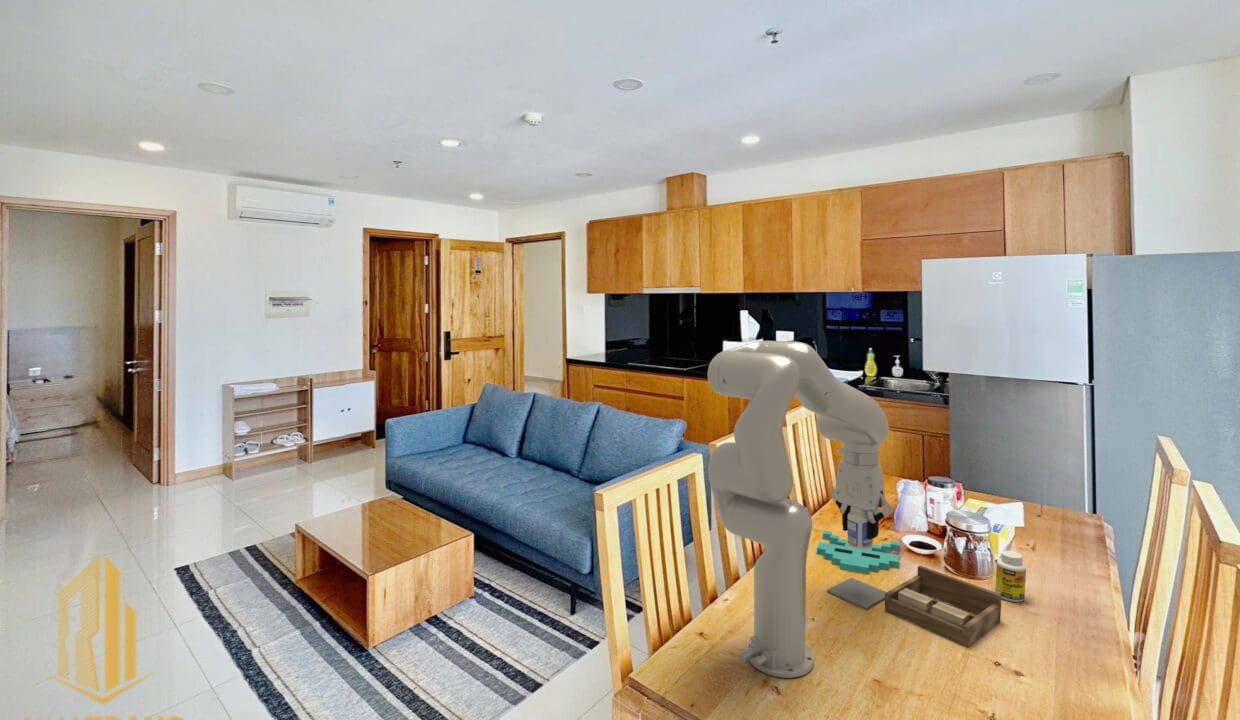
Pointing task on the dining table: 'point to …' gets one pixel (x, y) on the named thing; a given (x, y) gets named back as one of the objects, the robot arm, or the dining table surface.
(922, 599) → the offcut
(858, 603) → the rubber coaster
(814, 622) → the dining table surface
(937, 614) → the offcut
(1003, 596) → the supplement bottle
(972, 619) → the walnut rack
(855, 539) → the pill bottle
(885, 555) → the alien figure
